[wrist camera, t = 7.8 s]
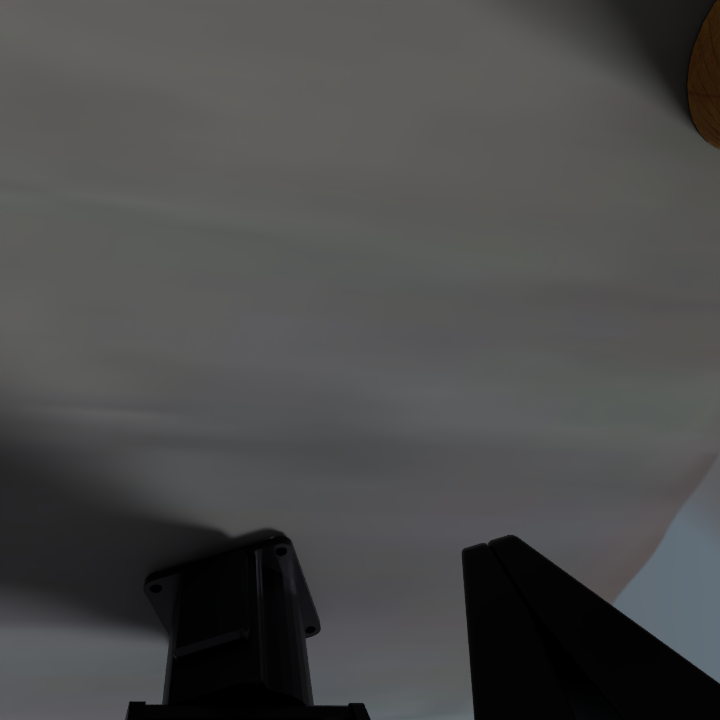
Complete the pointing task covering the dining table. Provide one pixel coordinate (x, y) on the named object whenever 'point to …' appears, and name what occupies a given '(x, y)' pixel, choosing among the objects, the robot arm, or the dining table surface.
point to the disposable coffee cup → (706, 78)
